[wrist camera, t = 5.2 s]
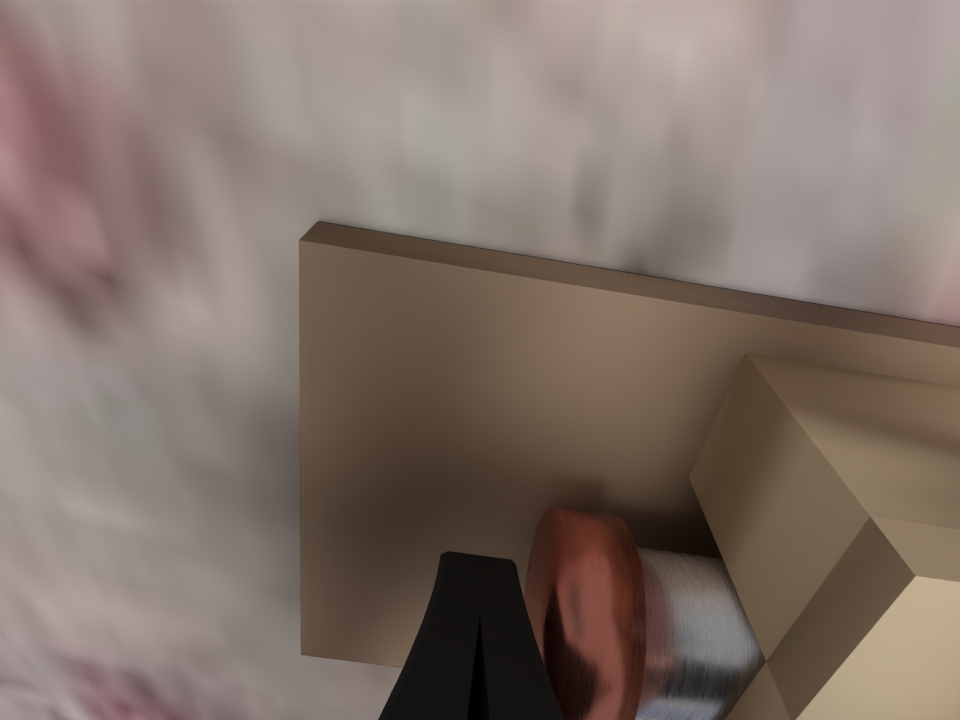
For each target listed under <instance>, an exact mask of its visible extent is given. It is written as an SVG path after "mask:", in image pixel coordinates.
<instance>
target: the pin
mask: <svg viewBox="0 0 960 720" xmlns="http://www.w3.org/2000/svg"><path fill="white" fill-rule="evenodd" d="M524 601H525V605H526V608H527V612H528V616H529V619H530V622H531V626H532V629H533V632H534V635H535V639H536V642H537V645H538V648H539V651H540V654H541V657H542V660H543V663H544V665H545V668H546V671H547V674H548V677H549V679H550V682H551V685H552V688H553V691H554V693H555V696H556V699H557V701H558V704H559V707H560V709H561V712H562V714H563V717H564V719H565V720H725V719H726V717H727V716H728V714H729V713H730V712H731V710H732V709H733V707H734V706H735V705H736V703H737V702H738V700H739V699H740V698H741V696H742V695H743V693H744V692H745V691H746V689H747V688H748V686H749V685H750V684H751V682H752V681H753V679H754V678H755V677H756V675H757V674H758V672H759V671H760V670H761V668H762V667H763V665H764V664H765V663H766V660H765V658H764V655H763V653H762V650H761V648H760V646H759V643H758V641H757V639H756V636H755V634H754V631H753V629H752V627H751V624H750V622H749V620H748V617H747V615H746V612H745V610H744V608H743V605H742V603H741V601H740V598H739V596H738V593H737V591H736V589H735V586H734V584H733V582H732V579H731V577H730V574H729V572H728V570H727V567H726V565H725V562H724V560H723V559H719V558H712V557H705V556H698V555H690V554H683V553H676V552H669V551H662V550H655V549H647V548H640V547H636V544H635V541H634V539H633V536H632V534H631V532H630V530H629V528H628V526H627V525H626V524H625V522H624V521H623V520H622V519H620V518H619V517H616V516H611V515H604V514H597V513H590V512H583V511H576V510H569V509H562V508H555V507H550V508H548V509H547V510H546V511H545V513H544V514H543V516H542V518H541V520H540V522H539V525H538V527H537V530H536V534H535V537H534V541H533V545H532V549H531V553H530V558H529V564H528V570H527V576H526V583H525V590H524Z"/></svg>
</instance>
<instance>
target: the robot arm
mask: <svg viewBox="0 0 960 720" xmlns="http://www.w3.org/2000/svg"><path fill="white" fill-rule="evenodd" d="M378 720H565V719H564V717H563V714H562V712H561V709H560V707H559V704H558V701H557V699H556V696H555V693H554V691H553V688H552V685H551V682H550V679H549V677H548V674H547V671H546V668H545V665H544V663H543V660H542V657H541V654H540V651H539V648H538V645H537V642H536V639H535V635H534V632H533V629H532V626H531V622H530V619H529V616H528V612H527V608H526V605H525V601H524V597H523V593H522V589H521V585H520V581H519V576H518V571H517V566H516V564H515V563H514V562H513V560H511V559H504V558H497V557H489V556H482V555H474V554H467V553H459V552H452V551H447V552H444V553H442V554H440V560H439V566H438V571H437V576H436V580H435V584H434V588H433V591H432V595H431V598H430V601H429V604H428V607H427V609H426V612H425V615H424V618H423V621H422V623H421V626H420V628H419V631H418V633H417V636H416V638H415V641H414V643H413V645H412V648H411V650H410V653H409V655H408V657H407V660H406V662H405V665H404V667H403V669H402V671H401V674H400V676H399V678H398V680H397V682H396V684H395V686H394V688H393V690H392V692H391V694H390V696H389V699H388V701H387V703H386V705H385V707H384V709H383V711H382V713H381V715H380V717H379V719H378Z"/></svg>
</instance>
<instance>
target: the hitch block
mask: <svg viewBox="0 0 960 720" xmlns="http://www.w3.org/2000/svg"><path fill="white" fill-rule="evenodd" d="M299 309H300V538H301V655H307V656H315V657H323V658H331V659H339V660H346V661H354V662H362V663H370V664H378V665H386V666H394V667H402V668H403V667H404V665H405V662H406V660H407V657H408V655H409V653H410V650H411V648H412V645H413V643H414V641H415V638H416V636H417V633H418V631H419V628H420V626H421V623H422V621H423V618H424V615H425V612H426V609H427V607H428V604H429V601H430V598H431V595H432V591H433V588H434V584H435V580H436V576H437V571H438V566H439V560H440V554H442V553H444V552H447V551H452V552H459V553H467V554H474V555H482V556H489V557H497V558H504V559H511V560H513V562H514V563H515V564H516V566H517V571H518V576H519V581H520V585H521V589H522V593H523V597H524V590H525V583H526V576H527V570H528V564H529V558H530V553H531V549H532V545H533V541H534V537H535V534H536V530H537V527H538V525H539V522H540V520H541V518H542V516H543V514H544V513H545V511H546V510H547V509H548V508H550V507H555V508H562V509H569V510H576V511H583V512H590V513H597V514H604V515H611V516H616V517H619V518H620V519H622V520H623V521H624V522H625V524H626V525H627V526H628V528H629V530H630V532H631V534H632V536H633V539H634V541H635V544H636V547H640V548H647V549H655V550H662V551H669V552H676V553H683V554H690V555H698V556H705V557H712V558H719V559H723V560H724V562H725V565H726V567H727V570H728V572H729V574H730V577H731V579H732V582H733V584H734V586H735V589H736V591H737V593H738V596H739V598H740V601H741V603H742V605H743V608H744V610H745V612H746V615H747V617H748V620H749V622H750V624H751V627H752V629H753V631H754V634H755V636H756V639H757V641H758V643H759V646H760V648H761V650H762V653H763V655H764V658H765V660H766V663H765V664H764V665H763V667H762V668H761V670H760V671H759V672H758V674H757V675H756V677H755V678H754V679H753V681H752V682H751V684H750V685H749V686H748V688H747V689H746V691H745V692H744V693H743V695H742V696H741V698H740V699H739V700H738V702H737V703H736V705H735V706H734V707H733V709H732V710H731V712H730V713H729V714H728V716H727V717H726V719H725V720H960V328H958V327H952V326H946V325H940V324H934V323H928V322H922V321H916V320H910V319H904V318H898V317H892V316H886V315H880V314H874V313H868V312H861V311H855V310H849V309H843V308H837V307H831V306H825V305H819V304H813V303H807V302H801V301H795V300H789V299H783V298H777V297H771V296H765V295H759V294H753V293H747V292H741V291H734V290H728V289H722V288H716V287H710V286H704V285H698V284H692V283H686V282H680V281H674V280H668V279H662V278H656V277H650V276H644V275H638V274H632V273H626V272H620V271H614V270H607V269H601V268H595V267H589V266H583V265H577V264H571V263H565V262H559V261H553V260H547V259H541V258H535V257H529V256H523V255H517V254H511V253H505V252H499V251H493V250H487V249H480V248H474V247H468V246H462V245H456V244H450V243H444V242H438V241H432V240H426V239H420V238H414V237H408V236H402V235H396V234H390V233H384V232H378V231H372V230H366V229H360V228H353V227H347V226H341V225H335V224H329V223H323V222H317V223H316V224H315V225H314V226H313V227H312V228H311V229H310V230H309V231H308V232H307V233H306V234H305V235H304V236H303V237H302V238H301V239H300V240H299Z"/></svg>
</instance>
